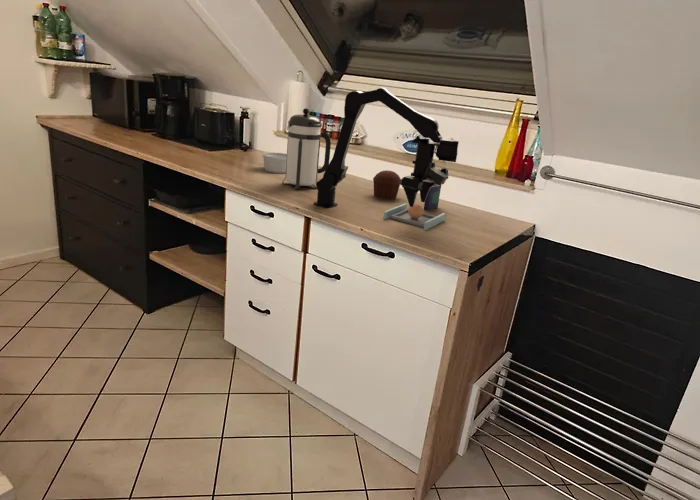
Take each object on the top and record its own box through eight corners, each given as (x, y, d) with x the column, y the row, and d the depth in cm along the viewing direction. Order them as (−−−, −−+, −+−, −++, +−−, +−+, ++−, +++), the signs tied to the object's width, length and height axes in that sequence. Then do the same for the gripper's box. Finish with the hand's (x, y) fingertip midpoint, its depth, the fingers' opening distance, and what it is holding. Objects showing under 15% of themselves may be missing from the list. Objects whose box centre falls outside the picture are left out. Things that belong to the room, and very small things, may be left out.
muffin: (390, 202, 187) (394, 176, 184) (365, 195, 192) (368, 170, 189) (404, 197, 197) (407, 172, 193) (380, 191, 202) (383, 167, 198)
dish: (423, 227, 160) (423, 224, 160) (390, 218, 166) (391, 215, 166) (437, 220, 170) (437, 216, 170) (406, 212, 176) (406, 209, 175)
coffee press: (316, 193, 188) (323, 112, 177) (276, 187, 190) (280, 107, 180) (327, 184, 204) (334, 109, 193) (290, 178, 206) (295, 104, 196)
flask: (433, 205, 189) (437, 178, 185) (440, 207, 187) (444, 179, 183) (421, 209, 182) (426, 181, 178) (428, 211, 180) (433, 182, 176)
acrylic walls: (425, 230, 158) (427, 222, 157) (383, 218, 165) (384, 211, 164) (444, 220, 171) (445, 213, 170) (404, 210, 178) (405, 203, 177)
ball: (418, 221, 165) (420, 207, 163) (404, 218, 167) (406, 204, 165) (424, 218, 169) (426, 204, 167) (411, 215, 171) (413, 201, 169)
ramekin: (295, 169, 225) (296, 154, 222) (288, 175, 212) (289, 159, 210) (266, 166, 226) (267, 151, 223) (258, 171, 213) (259, 155, 211)
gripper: (436, 165, 149) (428, 215, 155) (457, 159, 165) (449, 204, 170) (403, 159, 155) (396, 207, 160) (427, 153, 170) (420, 197, 175)
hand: (417, 204), depth 166 cm, fingers open, 9 cm apart
